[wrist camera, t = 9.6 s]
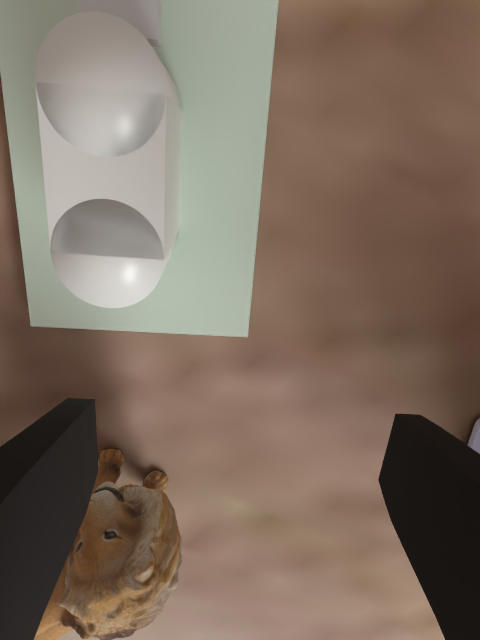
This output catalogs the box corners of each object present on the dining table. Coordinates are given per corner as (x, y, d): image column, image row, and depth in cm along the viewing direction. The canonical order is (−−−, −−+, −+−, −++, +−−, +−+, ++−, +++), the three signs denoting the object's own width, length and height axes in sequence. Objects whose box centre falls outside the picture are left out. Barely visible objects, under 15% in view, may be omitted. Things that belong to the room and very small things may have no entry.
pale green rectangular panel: (275, 7, 14) (278, -3, 13) (246, 327, 19) (247, 337, 18) (3, -23, 14) (-13, -35, 13) (40, 317, 18) (30, 326, 17)
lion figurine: (133, 379, 20) (70, 548, 11) (219, 438, 21) (220, 626, 13) (-26, 555, 23) (-163, 781, 15) (57, 595, 25) (-25, 820, 16)
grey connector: (186, -26, 13) (169, -123, 8) (178, 266, 17) (163, 311, 12) (88, -37, 13) (15, -144, 8) (101, 261, 16) (55, 305, 12)
